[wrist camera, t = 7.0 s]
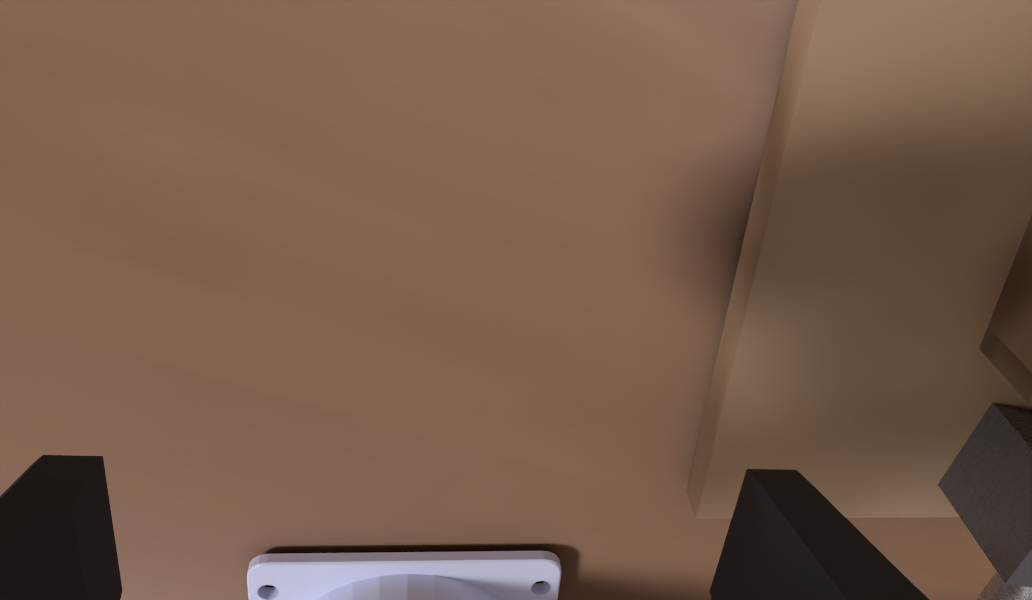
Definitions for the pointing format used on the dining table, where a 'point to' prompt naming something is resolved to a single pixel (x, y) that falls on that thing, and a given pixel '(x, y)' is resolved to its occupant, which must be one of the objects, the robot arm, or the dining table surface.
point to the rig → (880, 258)
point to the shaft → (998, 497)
